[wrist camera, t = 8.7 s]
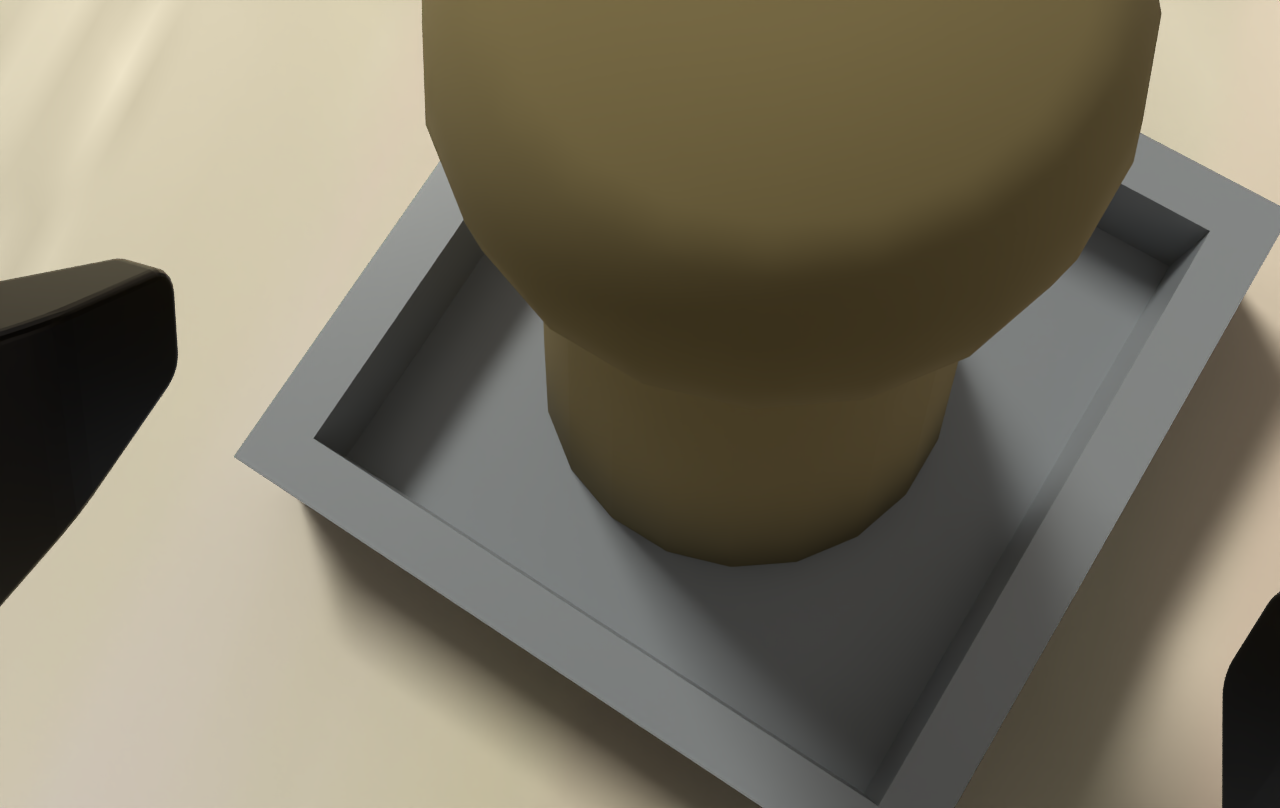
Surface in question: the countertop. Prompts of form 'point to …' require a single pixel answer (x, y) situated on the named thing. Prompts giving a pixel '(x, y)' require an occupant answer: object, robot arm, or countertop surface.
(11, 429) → the robot arm
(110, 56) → the countertop surface
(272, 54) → the countertop surface
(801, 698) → the grey tray
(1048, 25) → the cork
